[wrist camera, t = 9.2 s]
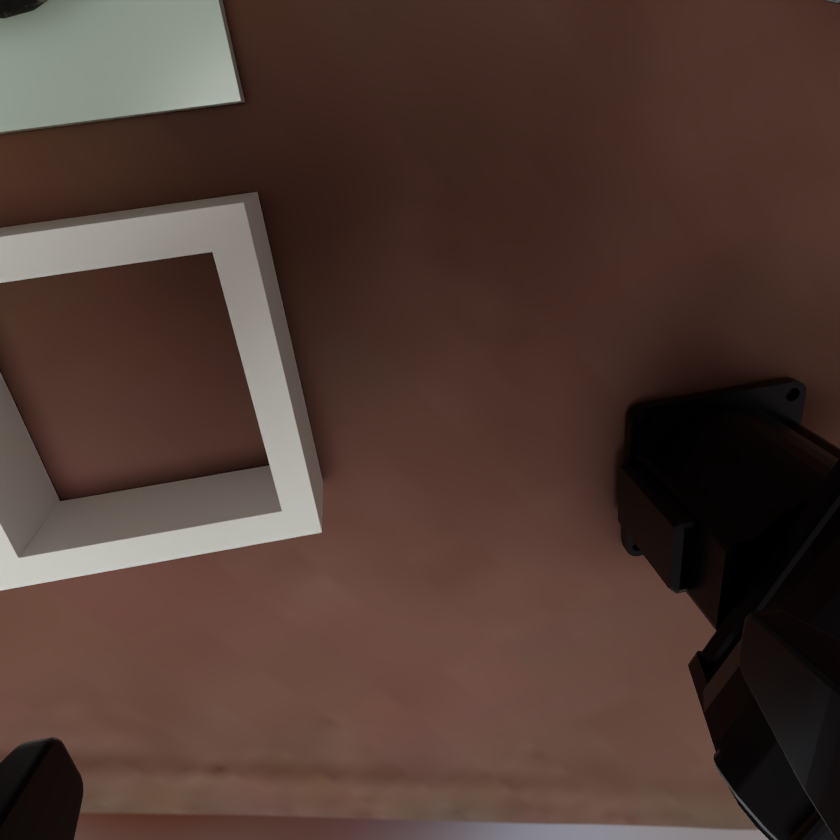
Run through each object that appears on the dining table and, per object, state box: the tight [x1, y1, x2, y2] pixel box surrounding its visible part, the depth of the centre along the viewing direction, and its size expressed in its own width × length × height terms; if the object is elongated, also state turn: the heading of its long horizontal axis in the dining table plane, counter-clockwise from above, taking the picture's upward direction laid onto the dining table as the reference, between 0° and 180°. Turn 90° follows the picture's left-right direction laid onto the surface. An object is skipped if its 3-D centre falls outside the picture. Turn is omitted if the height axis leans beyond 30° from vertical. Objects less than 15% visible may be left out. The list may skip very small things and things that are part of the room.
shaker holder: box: [0, 192, 323, 591], centre depth 17 cm, size 10×10×3 cm
